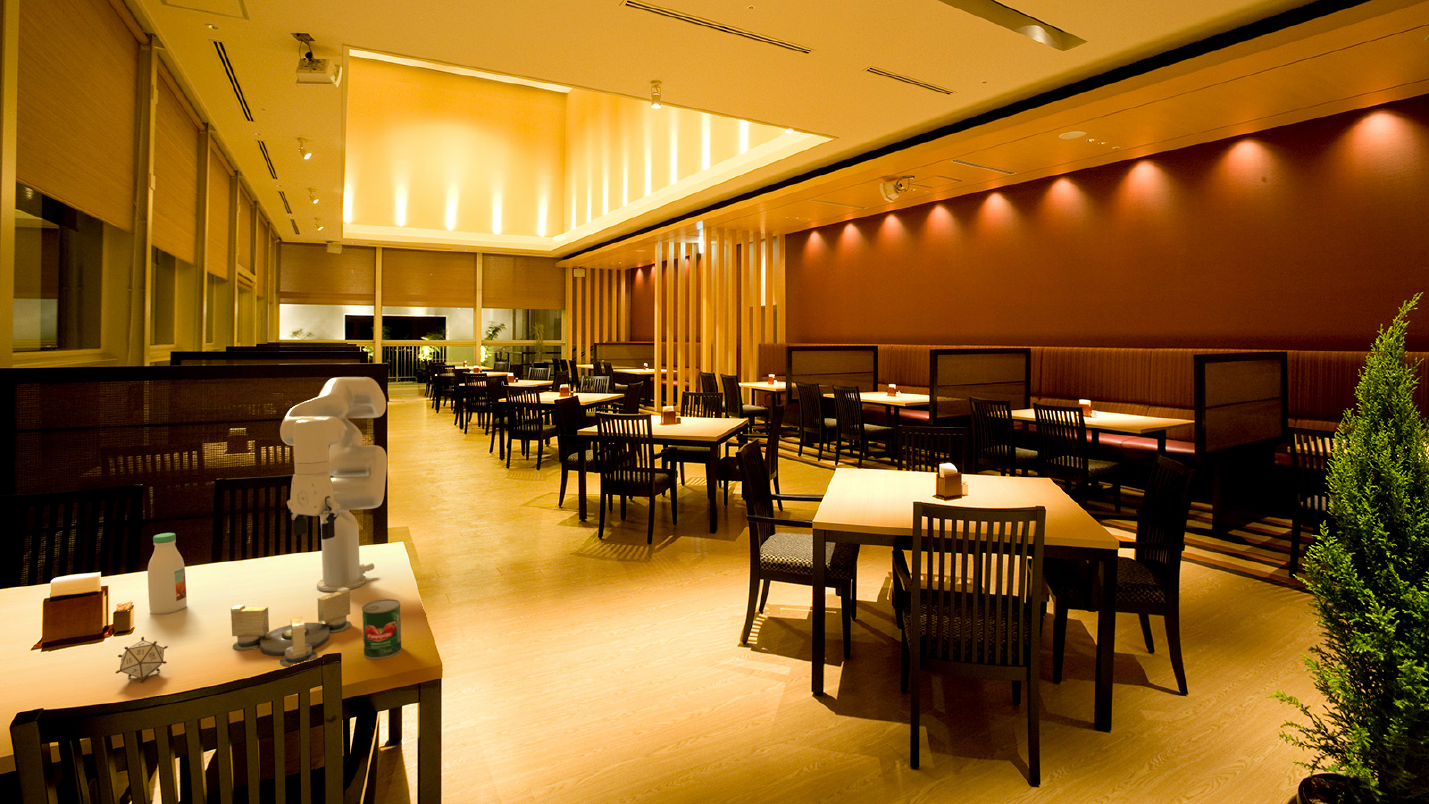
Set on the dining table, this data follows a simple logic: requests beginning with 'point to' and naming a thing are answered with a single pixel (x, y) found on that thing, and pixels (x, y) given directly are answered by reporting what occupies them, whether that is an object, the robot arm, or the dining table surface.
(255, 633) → the knob
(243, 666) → the dining table surface
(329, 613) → the knob near
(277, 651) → the plate
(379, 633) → the canned tomato
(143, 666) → the game die
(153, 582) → the milk bottle
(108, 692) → the dining table surface
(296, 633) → the knob
